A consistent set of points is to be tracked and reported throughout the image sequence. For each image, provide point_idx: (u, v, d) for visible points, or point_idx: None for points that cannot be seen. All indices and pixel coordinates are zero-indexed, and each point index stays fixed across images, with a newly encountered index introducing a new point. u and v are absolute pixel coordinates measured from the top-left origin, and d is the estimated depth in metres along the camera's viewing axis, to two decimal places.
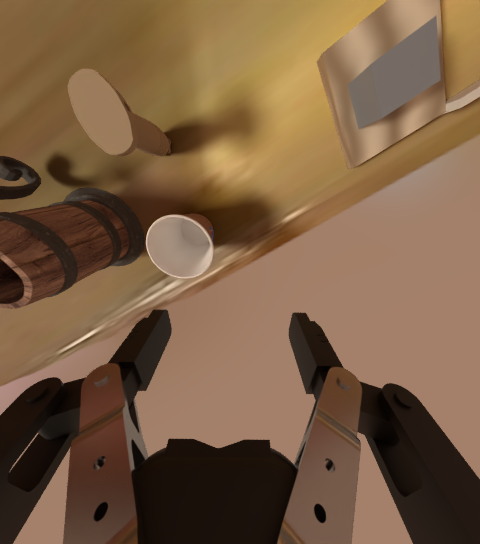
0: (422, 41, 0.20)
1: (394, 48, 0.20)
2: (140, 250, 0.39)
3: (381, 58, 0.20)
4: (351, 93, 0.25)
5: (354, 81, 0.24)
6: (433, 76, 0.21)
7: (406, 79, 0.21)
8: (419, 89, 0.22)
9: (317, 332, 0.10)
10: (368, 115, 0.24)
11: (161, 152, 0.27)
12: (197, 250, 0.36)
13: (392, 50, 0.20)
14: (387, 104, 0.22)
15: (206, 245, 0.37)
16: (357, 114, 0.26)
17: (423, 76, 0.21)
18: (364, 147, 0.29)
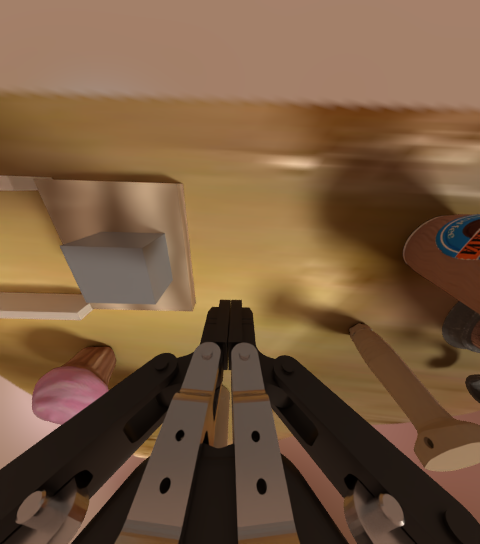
0: (97, 292, 0.17)
1: (129, 302, 0.17)
2: None
3: (143, 302, 0.17)
4: (170, 272, 0.21)
5: (167, 284, 0.20)
6: (72, 254, 0.15)
7: (109, 270, 0.16)
8: (88, 251, 0.15)
9: (247, 316, 0.11)
10: (155, 251, 0.17)
11: (380, 342, 0.24)
12: None
13: (131, 302, 0.17)
14: (133, 258, 0.15)
15: None
16: (165, 251, 0.20)
17: (86, 261, 0.15)
18: (158, 205, 0.18)
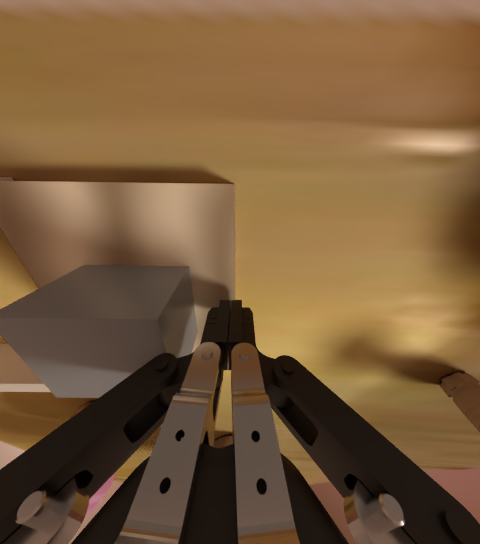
0: (73, 384, 0.09)
1: None
2: None
3: None
4: (195, 323, 0.13)
5: (192, 345, 0.13)
6: (14, 331, 0.07)
7: (93, 355, 0.08)
8: (47, 325, 0.07)
9: (247, 316, 0.11)
10: (178, 306, 0.09)
11: None
12: None
13: None
14: (138, 337, 0.08)
15: None
16: (190, 294, 0.12)
17: (46, 342, 0.08)
18: (197, 222, 0.10)
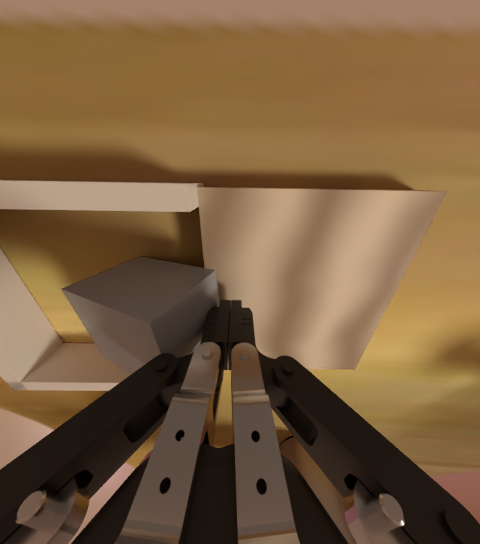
0: (110, 354, 0.11)
1: None
2: None
3: None
4: None
5: None
6: (75, 303, 0.10)
7: (115, 337, 0.09)
8: (88, 304, 0.09)
9: (246, 316, 0.11)
10: (189, 311, 0.09)
11: None
12: None
13: None
14: (139, 334, 0.08)
15: None
16: (214, 299, 0.11)
17: (90, 316, 0.10)
18: (393, 227, 0.11)
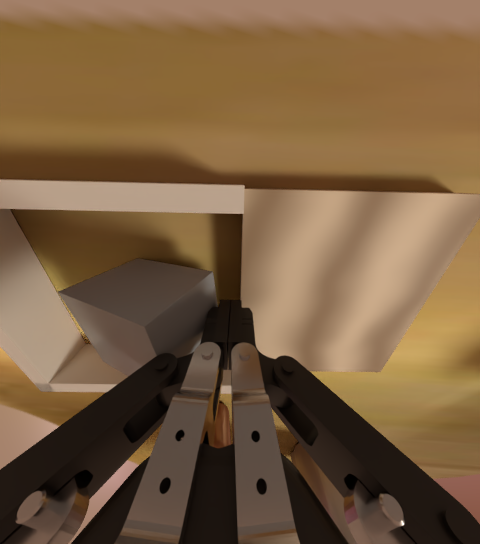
0: (108, 357, 0.11)
1: None
2: None
3: None
4: None
5: None
6: (71, 306, 0.10)
7: (112, 339, 0.09)
8: (85, 307, 0.09)
9: (246, 316, 0.11)
10: (186, 313, 0.09)
11: None
12: None
13: None
14: (135, 337, 0.08)
15: None
16: (211, 300, 0.11)
17: (87, 319, 0.10)
18: (436, 230, 0.11)
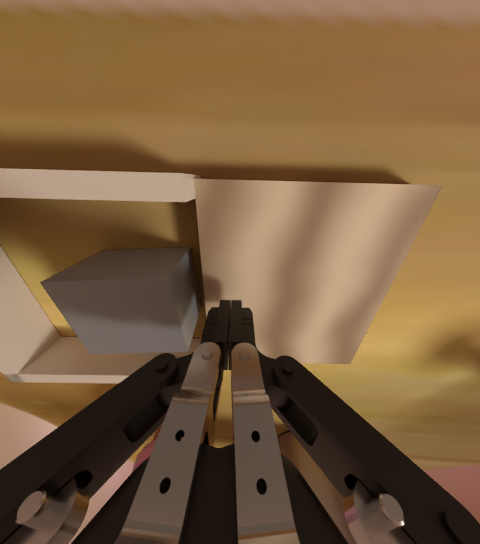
0: (103, 341, 0.12)
1: (150, 350, 0.12)
2: None
3: (170, 350, 0.12)
4: (199, 297, 0.16)
5: (197, 314, 0.15)
6: (60, 293, 0.10)
7: (119, 312, 0.10)
8: (85, 287, 0.10)
9: (247, 316, 0.11)
10: (183, 275, 0.12)
11: None
12: None
13: (153, 350, 0.12)
14: (153, 294, 0.10)
15: None
16: (193, 270, 0.14)
17: (84, 302, 0.10)
18: (388, 221, 0.11)
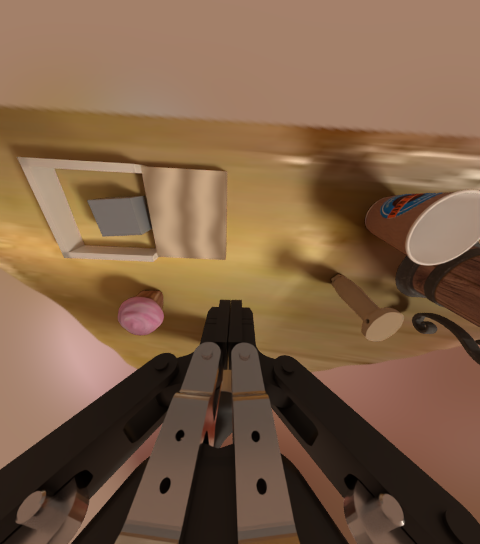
0: (108, 228, 0.30)
1: (126, 234, 0.30)
2: None
3: (134, 233, 0.30)
4: None
5: (150, 228, 0.33)
6: (93, 205, 0.28)
7: (114, 213, 0.29)
8: (102, 202, 0.28)
9: (247, 316, 0.11)
10: (138, 203, 0.30)
11: (350, 282, 0.36)
12: None
13: (127, 234, 0.30)
14: (125, 205, 0.28)
15: (396, 196, 0.31)
16: (146, 206, 0.33)
17: (101, 209, 0.28)
18: (213, 184, 0.29)
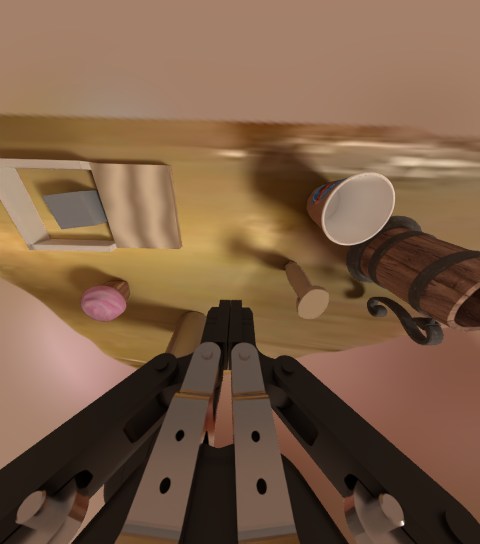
0: (64, 221, 0.33)
1: (81, 225, 0.33)
2: None
3: (88, 224, 0.33)
4: None
5: (106, 220, 0.36)
6: (48, 200, 0.31)
7: (67, 207, 0.32)
8: (55, 197, 0.31)
9: (247, 316, 0.11)
10: (90, 196, 0.33)
11: (296, 267, 0.38)
12: (343, 186, 0.32)
13: (82, 225, 0.33)
14: (75, 198, 0.31)
15: None
16: None
17: (55, 203, 0.31)
18: (157, 177, 0.32)
